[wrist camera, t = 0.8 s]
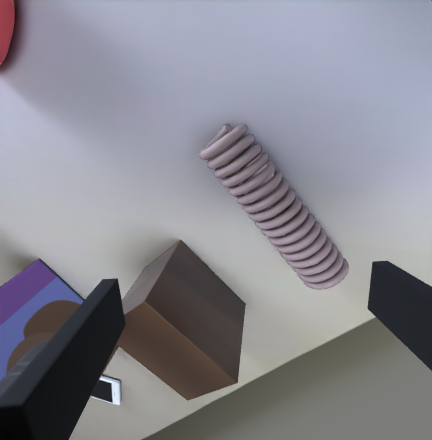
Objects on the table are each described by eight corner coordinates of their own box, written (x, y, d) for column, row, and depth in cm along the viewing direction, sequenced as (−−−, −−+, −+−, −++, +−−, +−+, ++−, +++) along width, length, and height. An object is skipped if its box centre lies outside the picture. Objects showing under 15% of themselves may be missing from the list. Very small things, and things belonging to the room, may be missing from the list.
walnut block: (180, 239, 29) (143, 301, 21) (245, 304, 32) (237, 383, 23) (145, 267, 32) (99, 331, 23) (207, 324, 35) (187, 400, 26)
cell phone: (41, 356, 47) (38, 359, 46) (120, 380, 46) (118, 384, 45) (47, 379, 51) (45, 382, 50) (121, 402, 49) (119, 406, 49)
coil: (360, 279, 22) (236, 113, 18) (314, 303, 24) (189, 154, 20) (341, 253, 27) (237, 113, 22) (303, 274, 28) (199, 147, 24)
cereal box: (124, 336, 40) (-37, 609, 19) (106, 344, 42) (-59, 600, 21) (39, 258, 35) (-301, 503, 14) (23, 271, 37) (-297, 504, 16)
